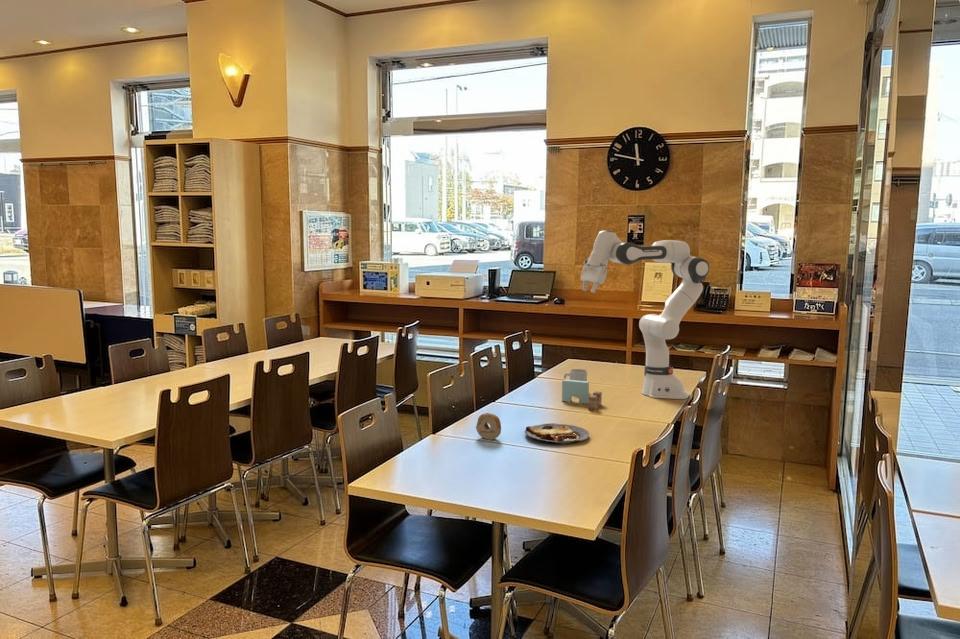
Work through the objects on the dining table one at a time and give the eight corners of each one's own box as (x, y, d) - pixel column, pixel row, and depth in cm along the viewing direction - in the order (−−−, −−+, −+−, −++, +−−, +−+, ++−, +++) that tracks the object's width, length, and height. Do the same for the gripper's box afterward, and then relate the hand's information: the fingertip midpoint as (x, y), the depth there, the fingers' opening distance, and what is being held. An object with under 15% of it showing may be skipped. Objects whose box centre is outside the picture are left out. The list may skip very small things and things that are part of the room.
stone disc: (503, 439, 266) (503, 414, 265) (497, 441, 263) (498, 416, 262) (480, 435, 272) (480, 410, 270) (475, 437, 269) (475, 412, 267)
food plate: (536, 447, 255) (536, 438, 255) (516, 431, 278) (516, 422, 277) (598, 444, 262) (598, 435, 262) (574, 428, 284) (574, 420, 284)
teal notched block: (588, 402, 324) (588, 381, 323) (586, 403, 321) (587, 382, 320) (563, 399, 329) (564, 379, 328) (561, 401, 326) (562, 380, 325)
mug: (589, 391, 346) (589, 369, 345) (583, 394, 339) (583, 373, 338) (566, 388, 352) (567, 367, 351) (560, 392, 345) (560, 370, 343)
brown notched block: (595, 403, 321) (595, 391, 320) (601, 404, 320) (601, 391, 319) (588, 409, 310) (588, 396, 310) (594, 410, 309) (595, 397, 308)
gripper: (613, 266, 315) (603, 295, 315) (594, 264, 334) (585, 291, 335) (601, 262, 313) (591, 291, 313) (583, 260, 333) (574, 287, 333)
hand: (588, 291), depth 324 cm, fingers open, 8 cm apart
